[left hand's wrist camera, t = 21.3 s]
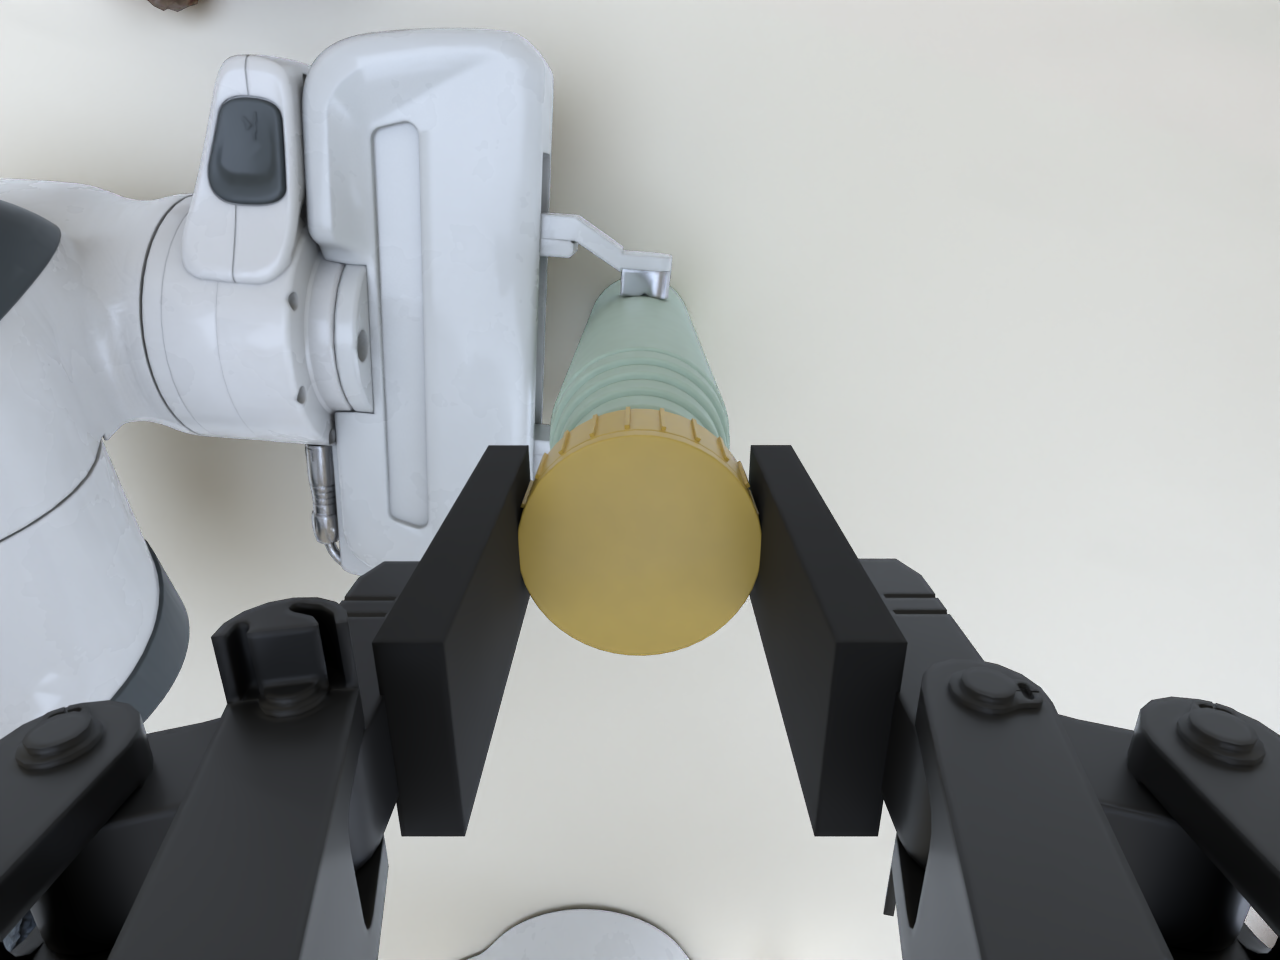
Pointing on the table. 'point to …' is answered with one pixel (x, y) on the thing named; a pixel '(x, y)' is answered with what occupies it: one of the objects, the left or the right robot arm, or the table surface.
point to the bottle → (639, 365)
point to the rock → (172, 4)
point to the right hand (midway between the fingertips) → (663, 355)
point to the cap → (639, 533)
